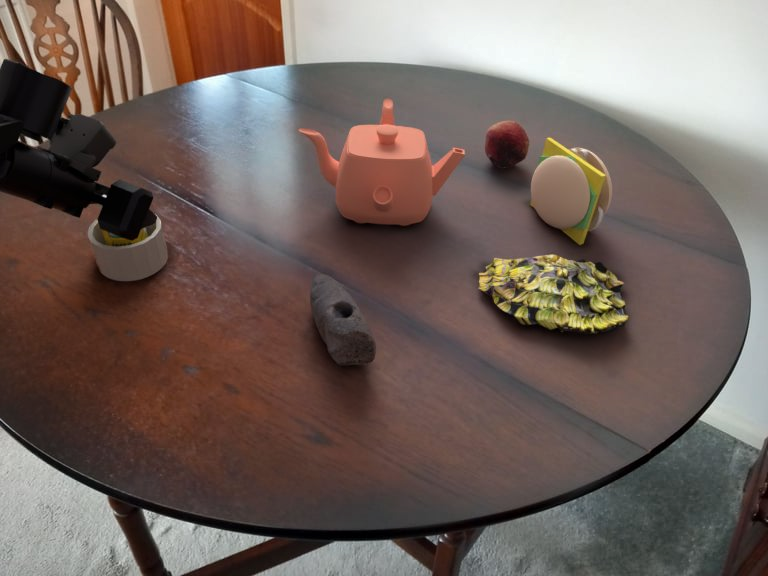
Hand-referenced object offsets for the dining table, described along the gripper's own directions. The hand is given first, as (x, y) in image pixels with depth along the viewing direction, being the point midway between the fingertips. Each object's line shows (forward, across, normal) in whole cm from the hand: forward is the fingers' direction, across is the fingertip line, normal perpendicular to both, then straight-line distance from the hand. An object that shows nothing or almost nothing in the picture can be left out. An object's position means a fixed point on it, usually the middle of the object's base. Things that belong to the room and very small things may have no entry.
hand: (129, 209), depth 82 cm
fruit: (+42, -36, -31) cm, 63 cm away
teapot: (+26, -23, -15) cm, 37 cm away
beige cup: (+4, 0, +6) cm, 8 cm away
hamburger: (+34, -50, -23) cm, 65 cm away
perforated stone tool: (+6, -32, +5) cm, 33 cm away
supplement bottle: (+4, 0, +6) cm, 7 cm away
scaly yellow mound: (+21, -53, -10) cm, 58 cm away
